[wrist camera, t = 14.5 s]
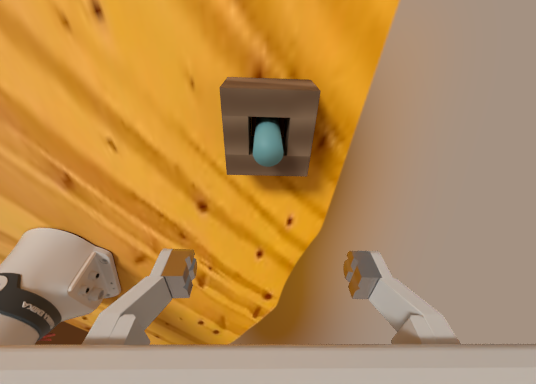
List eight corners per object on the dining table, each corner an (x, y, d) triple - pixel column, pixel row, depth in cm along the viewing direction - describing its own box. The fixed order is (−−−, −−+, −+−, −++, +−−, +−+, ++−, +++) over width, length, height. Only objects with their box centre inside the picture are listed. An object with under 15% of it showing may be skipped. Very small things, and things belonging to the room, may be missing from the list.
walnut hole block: (301, 154, 33) (307, 176, 29) (232, 153, 33) (226, 174, 28) (310, 79, 28) (320, 90, 23) (227, 77, 27) (219, 87, 22)
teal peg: (278, 130, 31) (282, 166, 23) (256, 130, 31) (253, 166, 23) (278, 108, 30) (283, 138, 21) (255, 108, 30) (252, 138, 21)
